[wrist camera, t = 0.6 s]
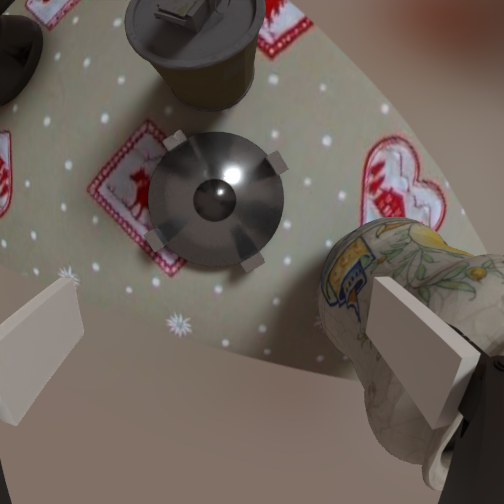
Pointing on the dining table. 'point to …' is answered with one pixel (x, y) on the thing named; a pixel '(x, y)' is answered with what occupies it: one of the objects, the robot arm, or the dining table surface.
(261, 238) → the flange
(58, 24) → the dining table surface
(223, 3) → the canister
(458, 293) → the vase
